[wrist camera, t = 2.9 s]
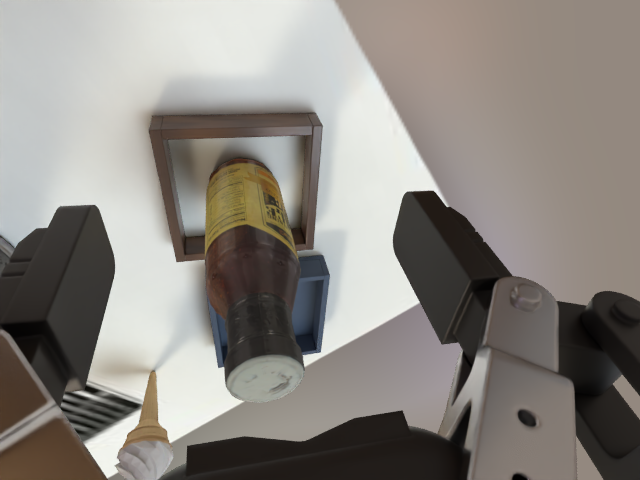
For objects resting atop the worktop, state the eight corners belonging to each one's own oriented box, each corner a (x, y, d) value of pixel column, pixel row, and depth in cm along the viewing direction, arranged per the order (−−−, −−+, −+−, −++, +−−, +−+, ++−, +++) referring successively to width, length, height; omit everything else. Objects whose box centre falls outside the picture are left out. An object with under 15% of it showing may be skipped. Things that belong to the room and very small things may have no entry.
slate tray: (217, 345, 49) (218, 367, 46) (205, 266, 40) (205, 288, 38) (315, 332, 51) (320, 352, 49) (323, 255, 43) (330, 274, 41)
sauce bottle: (282, 206, 38) (333, 402, 23) (216, 220, 37) (225, 431, 22) (270, 143, 33) (323, 334, 19) (195, 157, 33) (187, 367, 18)
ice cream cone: (123, 362, 47) (98, 507, 36) (173, 354, 48) (164, 492, 37) (135, 388, 50) (116, 527, 39) (181, 380, 51) (176, 513, 40)
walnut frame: (177, 244, 38) (176, 262, 36) (151, 115, 30) (148, 129, 28) (308, 233, 41) (313, 249, 39) (316, 112, 33) (322, 125, 31)
